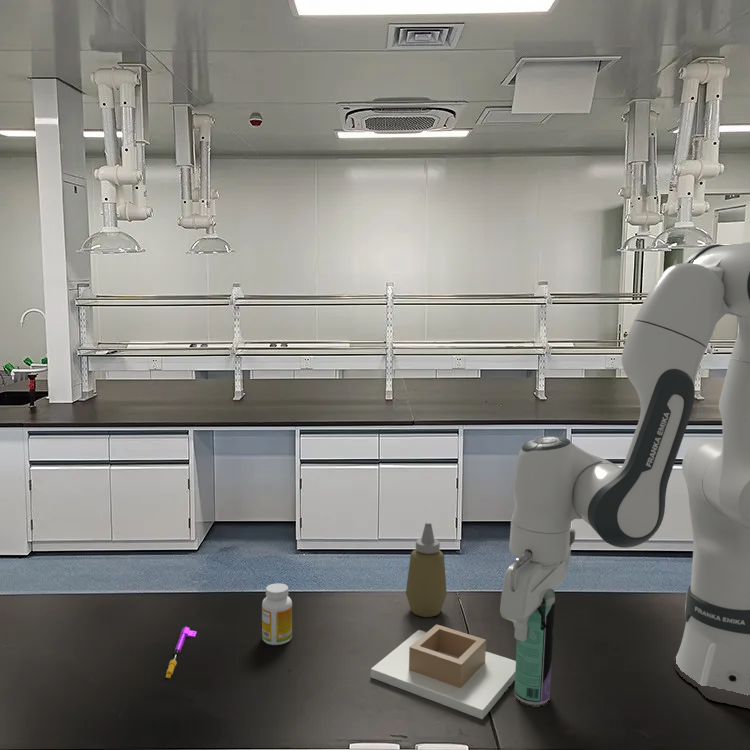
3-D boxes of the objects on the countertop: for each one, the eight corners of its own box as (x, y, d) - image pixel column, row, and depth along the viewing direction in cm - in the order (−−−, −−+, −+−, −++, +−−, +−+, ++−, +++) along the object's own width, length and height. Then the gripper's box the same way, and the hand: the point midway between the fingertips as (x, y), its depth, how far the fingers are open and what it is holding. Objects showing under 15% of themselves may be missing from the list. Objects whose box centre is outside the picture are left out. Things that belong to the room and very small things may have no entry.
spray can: (556, 702, 112) (563, 580, 109) (526, 709, 110) (533, 586, 107) (536, 683, 117) (542, 567, 114) (507, 690, 115) (513, 571, 112)
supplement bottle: (294, 632, 132) (295, 582, 131) (288, 647, 127) (288, 595, 126) (266, 630, 133) (266, 580, 132) (258, 644, 128) (258, 593, 126)
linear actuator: (181, 630, 132) (163, 680, 116) (183, 624, 132) (165, 673, 116) (196, 633, 133) (179, 683, 117) (197, 627, 132) (181, 676, 117)
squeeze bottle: (399, 605, 144) (401, 519, 142) (435, 599, 147) (438, 515, 144) (415, 623, 136) (417, 532, 134) (453, 617, 139) (456, 528, 137)
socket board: (521, 671, 120) (523, 640, 120) (482, 719, 107) (483, 685, 106) (418, 637, 131) (419, 609, 130) (370, 677, 118) (371, 645, 117)
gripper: (534, 568, 99) (527, 661, 101) (579, 528, 116) (572, 608, 118) (492, 557, 103) (486, 647, 105) (541, 519, 120) (535, 598, 122)
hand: (532, 626), depth 112 cm, fingers open, 8 cm apart
